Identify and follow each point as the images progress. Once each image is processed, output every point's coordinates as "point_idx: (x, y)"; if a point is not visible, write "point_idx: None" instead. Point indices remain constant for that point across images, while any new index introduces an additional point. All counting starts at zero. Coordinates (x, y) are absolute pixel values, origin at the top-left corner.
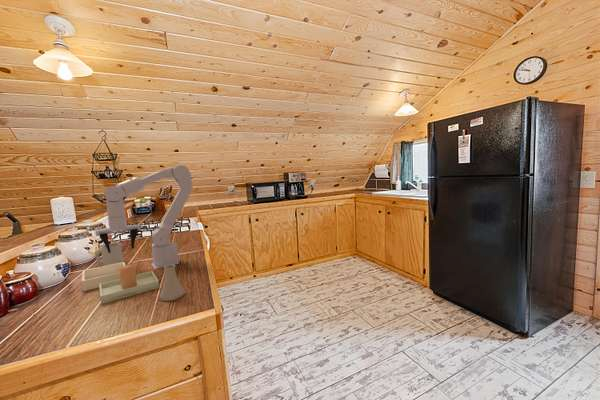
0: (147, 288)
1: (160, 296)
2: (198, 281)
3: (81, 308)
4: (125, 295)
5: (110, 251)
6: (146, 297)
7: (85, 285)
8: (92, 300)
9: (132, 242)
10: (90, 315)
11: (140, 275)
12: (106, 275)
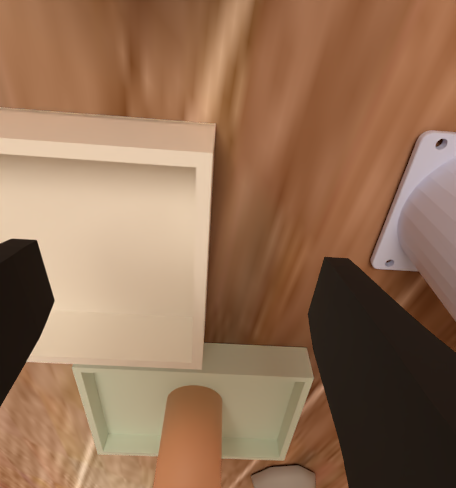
0: (243, 439)
1: (254, 485)
2: None
3: (51, 415)
4: None
5: (47, 316)
6: None
7: None
8: (73, 390)
9: (341, 414)
10: (88, 453)
11: (254, 373)
12: (93, 362)
